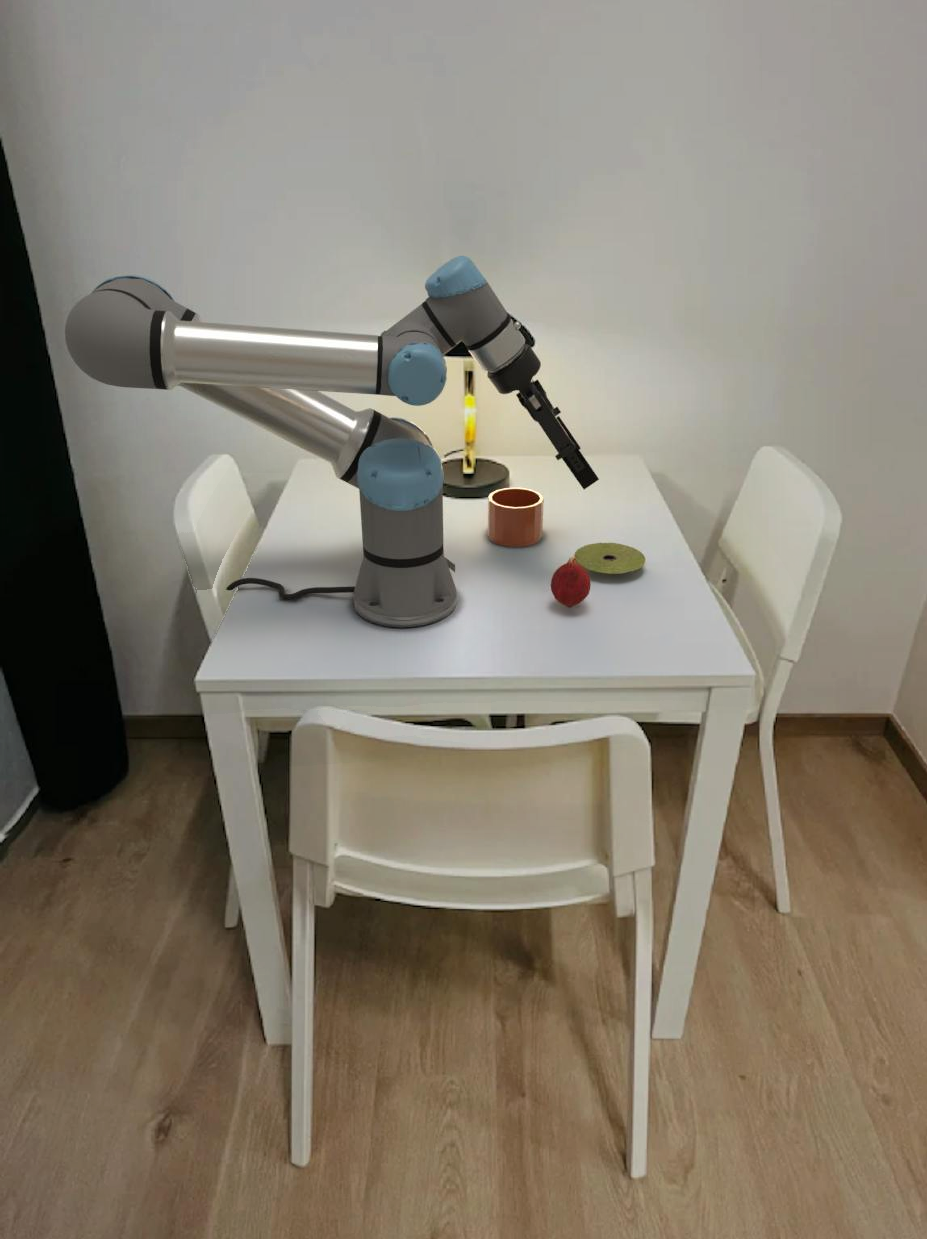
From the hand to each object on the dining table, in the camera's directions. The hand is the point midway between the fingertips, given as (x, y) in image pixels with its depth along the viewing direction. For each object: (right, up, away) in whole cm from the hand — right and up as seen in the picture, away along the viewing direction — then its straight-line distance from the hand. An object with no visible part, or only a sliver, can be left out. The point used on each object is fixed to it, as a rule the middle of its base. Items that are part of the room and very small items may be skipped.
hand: (582, 467), depth 143 cm
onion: (-3, -22, -8) cm, 24 cm away
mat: (+5, -16, +4) cm, 17 cm away
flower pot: (-10, -9, +14) cm, 20 cm away
